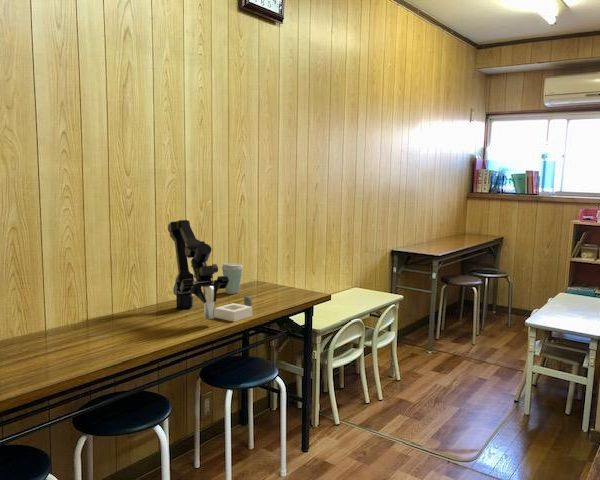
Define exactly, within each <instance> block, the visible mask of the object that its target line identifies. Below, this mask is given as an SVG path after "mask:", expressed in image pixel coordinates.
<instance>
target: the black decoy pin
mask: <svg viewBox="0 0 600 480" xmlns="http://www.w3.org/2000/svg"><path fill="white" fill-rule="evenodd" d="M252 298H253V297H252V296H251V295H249V296H247V295H246V296H244V297H243V300H244V301H243V305H245V306H251V307H252V308H253V306H252V304H253V303H252V301H253V299H252Z"/></svg>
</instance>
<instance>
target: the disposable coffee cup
mask: <svg viewBox="0 0 600 480" xmlns="http://www.w3.org/2000/svg"><path fill="white" fill-rule="evenodd" d="M243 269H244V267H243V265H242V263H241V264H240V263H232V262H227V263H226V262H225V263H222V265H221V270H222V276H227V277H228V278H229V282H228V285H227V287H226V288H225V289H224V291H225V293H226V294H227V293H228V294H229V295H236V294H235V293H237V294H239V293H240V289H241V281H242V276H243V275H242V274H243ZM238 292H239V293H238Z"/></svg>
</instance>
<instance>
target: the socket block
mask: <svg viewBox="0 0 600 480" xmlns="http://www.w3.org/2000/svg"><path fill="white" fill-rule="evenodd" d="M251 317H253V306H252V307H251V306H245V305H244V304H239V303H235V302H234V303H233V302H232V303H228V304H225V305H221V306H217V307H214V319H215V318H216V319H220V320H225V321H230V322H237V321H241V320H245V319H248V318H251Z"/></svg>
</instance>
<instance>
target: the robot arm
mask: <svg viewBox="0 0 600 480" xmlns="http://www.w3.org/2000/svg"><path fill="white" fill-rule="evenodd" d="M192 229H193V228H192V227H191V223H190V220H187V219H180V220H176V221H170V222H169V223H168V225H167V231H168V233H169V237H170V239H172V240H173V241H174V247H175V248H174V249H175V257H176V263H177V272H178V273H177V275H176V277H175V282H174V285H173V288H172V291H173V295H174V296H176V306H175V309H176V310H190V309H191V308H193V306H194V296H193V295H195V297H197V298H198V299H199V300H200V301H201V302H202V304H204V303H205V298H204V291H203V290H202V287H203V288H204V286H207V285H212V286H214V303H216V302H217V297H218V295H217V294H218V293H217V292H218V291H219V290H225V288H226V287H227V285H228V282H229V278H228V277H227V276H223V275H221V276H220V275H219V276H217V279H213V278H214V276H213V275H215V274H216V273H218V272H219V267H218V264H217V263H213V264H212V265H207V262H208V261H209V258H210V256H211V252H212V250H213V249H212V247H211V246H210V244H208V243H206V242H205V241H203V240H202V241H201V240H199V239H197V237H196V235H195V233H194V231H193V230H192ZM188 259H191V260H190V265H191V268H192V270H193V273H191V272H190V269H189V262H188V261H189V260H188Z"/></svg>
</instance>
